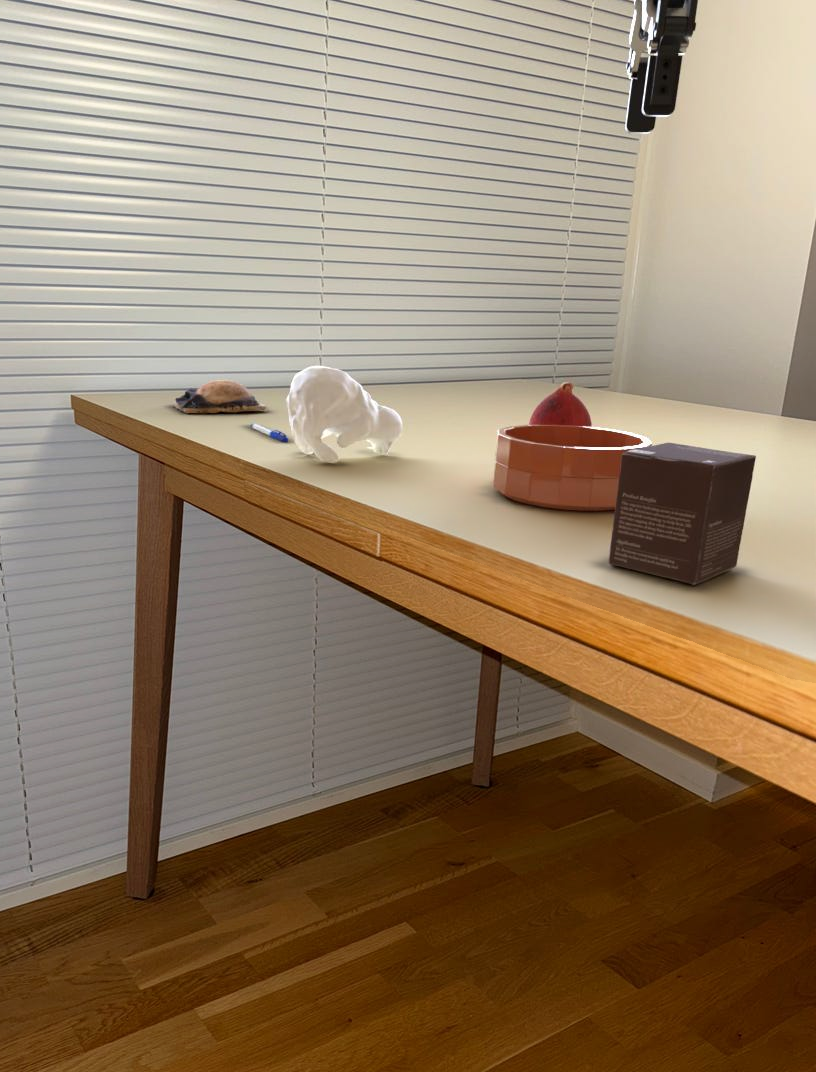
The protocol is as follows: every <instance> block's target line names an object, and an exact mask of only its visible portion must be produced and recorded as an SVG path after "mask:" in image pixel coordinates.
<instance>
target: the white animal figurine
mask: <svg viewBox="0 0 816 1072" xmlns="http://www.w3.org/2000/svg"><path fill="white" fill-rule="evenodd" d="M285 404H286V407H287V411H288V421H289V425H290V428H291V430H290V431H291V434H292V437H293V441H294V443H295V444H296V446H297V447H298V448H299V450H300V451H301V452H302V453H303V454H305V455H310V456H311V455H313V454H314V455H315V456H316V457H317V458H318V459H319V460H321V461H323V462H325V463H328V464H337V463H338V462H339V455H338V453H336V451H335V449H333V448H332V447H331V446H330V445H328V444H327V443H325V442H324V441H323V440H322V439H324V438H326V437H329V436H331V435H333V436H335V437H336V444H337V446H338V447H339V448H341V449H345V448H348V447H350V446H352V445H353V444H355V443H358V442H364V441H367V442H368V443H370V445H371V446H369V447H368V449H372V450H373V452H374V453H375V454H380V453H381V454H382V455H387V454H389V453H390V451H391V449H392V448H393V447H394V445H395V443H397V441H398V440H400V438H401V437H402V435H403V425H404V424H403V421H402V418H401V416H400V415H399V414H398V413H397V411H396V410H394V409H393V408H390V407H389V406H384V405H380V404H378V403H377V401H375V400H374V399H372V396H371V394H370V393H369V392H367V391H366V390H364V389H363V386H362V384H360V383H359V382H358V381H356V380H355V379H354V378H352V377H351V376H350V375H349V373H347V372H345V371H343V370H341V369H338V368H334V367H329V366H324V365H313V366H308V367H306V368H304V369H303V370H301V371H299V372H297V373H296V374H295V375H294V377H293V379H292V381H291V383H290V390H289V393H288V395H287V397H286V399H285Z"/></svg>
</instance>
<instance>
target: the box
mask: <svg viewBox="0 0 816 1072" xmlns="http://www.w3.org/2000/svg"><path fill="white" fill-rule="evenodd" d="M756 459H757V456H756V455H755V454H747V453H739V452H732V451H725V450H719V449H713V448H707V447H700V446H694V445H687V444H680V443H675V442H665V443H658V444H654V445H652V446H650V447H645V448H639V449H634V450H630V451H627V452H625V453H623V454H622V457H621V467H620V474H619V482H618V491H617V498H616V507H615V509H614V516H613V522H612V531H611V539H610V548H609V558H608V564H609V565H611V566H616V567H621V568H625V569H629V570H634V571H638V572H642V573H647V574H650V575H653V576H659V577H662V578H667V579H670V580H675V581H679V582H683V583H685V584H690V585H693V586H695V585H698V584H700V583H703V582H705V581H708V580H709V579H712V578H714V577H716V576H718V575H720V574H724V573H726V572H729V571H731V570H733V569H734V568H737V563H738V558H739V551H740V546H741V541H742V537H743V536H742V535H743V530H744V526H745V520H746V514H747V509H748V504H749V503H748V502H749V499H750V494H751V493H750V492H751V486H752V483H753V482H752V481H753V476H754V469H755V464H756Z"/></svg>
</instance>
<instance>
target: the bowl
mask: <svg viewBox="0 0 816 1072" xmlns="http://www.w3.org/2000/svg"><path fill="white" fill-rule="evenodd" d="M650 446H653V443H652V441H651V440H649V438H647V437H645V436H642V435H639V434H635V433H633V432H627V431H621V430H616V429H611V428H601V427H594V426H592V427H585V426H570V425H529V424H522V425H520V424H519V425H509V426H505V427H503V428H499V429H498V430H497V436H496V445H495V457H494V467H493V476H492V477H493V478H492V487H493V489H494V490H495V491H497V492H499V493H501V494H503V495H504V496H505V497H507V498H508V499H511V500H513V501H516V502H519V503H521V504H526V505H529V506H530V505H531V506H536V507H540V508H545V509H546V508H547V509H553V510H562V511H563V510H565V511H577V512H578V511H579V512H581V511H582V512H583V511H584V512H599V511H600V512H601V511H613V510H615V507H616V498H617V491H618V482H619V474H620V467H621V457H622V454H623V453H625V452H627V451H630V450H634V449H639V448H645V447H650Z"/></svg>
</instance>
